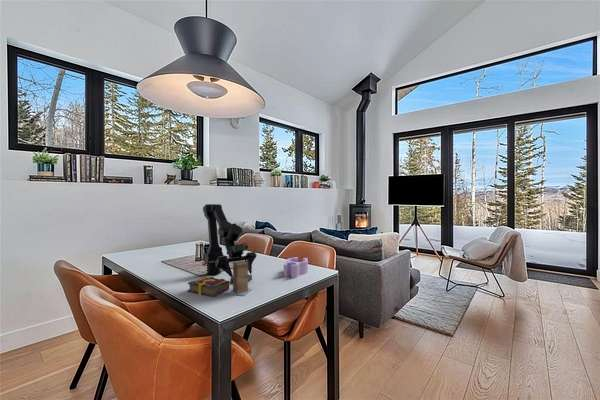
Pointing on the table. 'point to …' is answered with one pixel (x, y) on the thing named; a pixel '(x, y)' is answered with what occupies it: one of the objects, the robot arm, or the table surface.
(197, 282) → the decorative book
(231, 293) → the pad
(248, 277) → the trap pit
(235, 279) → the tan wooden block
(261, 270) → the table surface
